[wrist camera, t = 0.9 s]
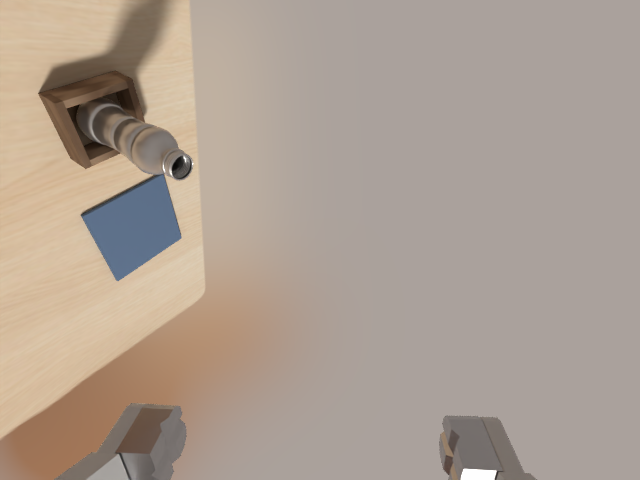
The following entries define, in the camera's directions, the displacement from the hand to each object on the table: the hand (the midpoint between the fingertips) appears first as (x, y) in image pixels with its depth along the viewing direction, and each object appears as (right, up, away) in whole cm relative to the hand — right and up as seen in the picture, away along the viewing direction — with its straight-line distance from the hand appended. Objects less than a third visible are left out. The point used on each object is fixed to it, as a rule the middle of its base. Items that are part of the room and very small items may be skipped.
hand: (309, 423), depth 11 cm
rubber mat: (-36, +8, +60) cm, 70 cm away
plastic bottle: (-34, +25, +43) cm, 60 cm away
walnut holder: (-34, +25, +42) cm, 60 cm away
